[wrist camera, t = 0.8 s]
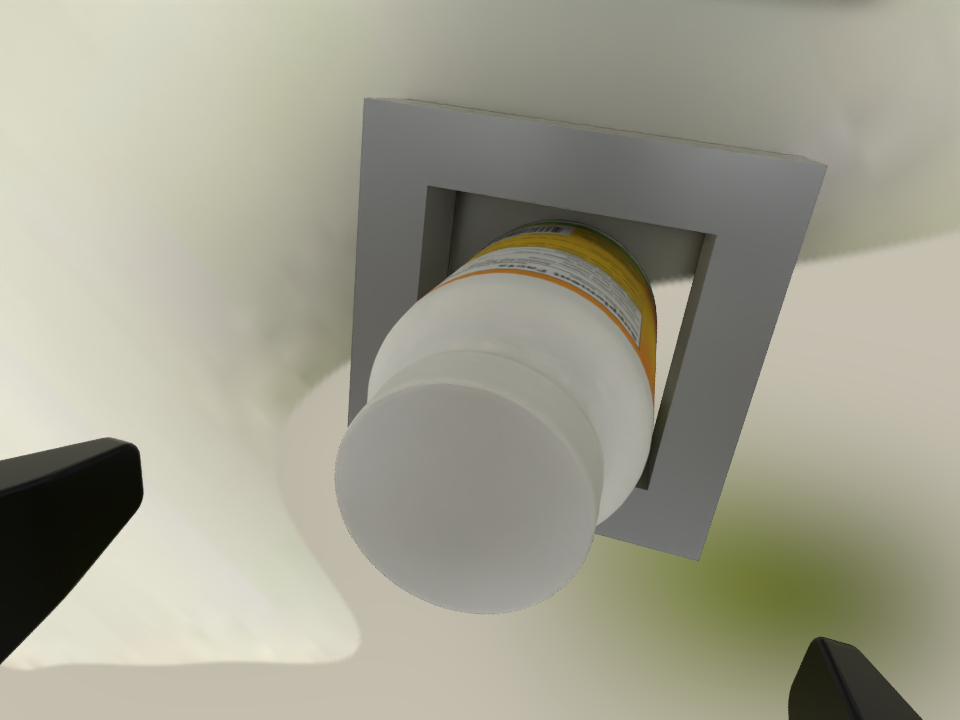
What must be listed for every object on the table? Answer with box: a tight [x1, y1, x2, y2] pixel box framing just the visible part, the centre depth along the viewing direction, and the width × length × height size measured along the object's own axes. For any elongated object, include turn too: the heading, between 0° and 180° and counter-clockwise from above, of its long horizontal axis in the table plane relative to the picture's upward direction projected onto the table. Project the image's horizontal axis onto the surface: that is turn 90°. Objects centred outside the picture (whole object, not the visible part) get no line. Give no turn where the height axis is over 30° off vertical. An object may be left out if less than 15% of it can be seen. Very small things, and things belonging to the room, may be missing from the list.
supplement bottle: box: [335, 220, 657, 614], centre depth 14 cm, size 5×5×10 cm
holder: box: [348, 98, 827, 561], centre depth 17 cm, size 10×10×2 cm
